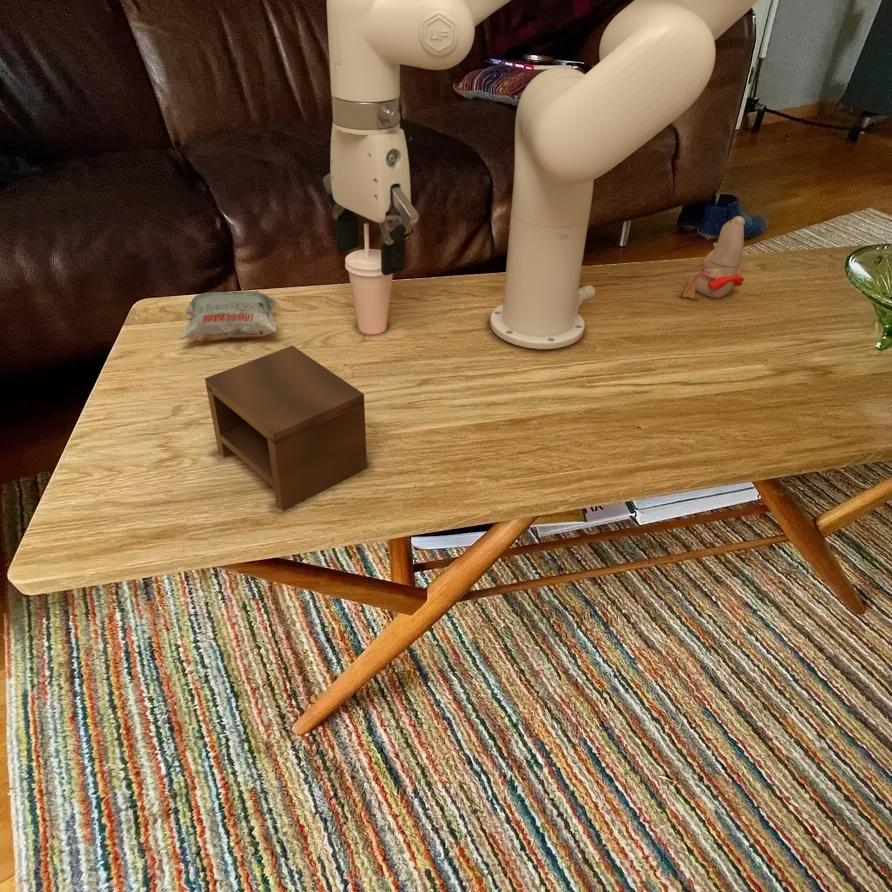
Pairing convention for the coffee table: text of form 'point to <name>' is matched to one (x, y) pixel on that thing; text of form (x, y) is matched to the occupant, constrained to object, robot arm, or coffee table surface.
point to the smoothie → (369, 287)
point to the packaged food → (230, 316)
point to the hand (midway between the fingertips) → (370, 259)
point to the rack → (289, 423)
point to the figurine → (720, 263)
